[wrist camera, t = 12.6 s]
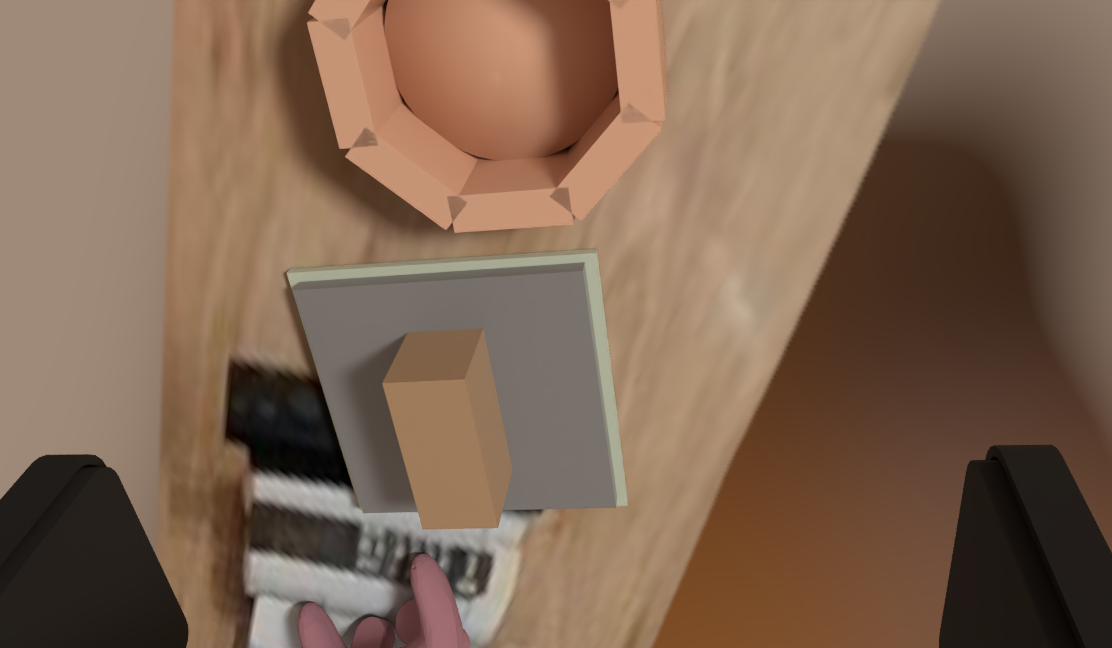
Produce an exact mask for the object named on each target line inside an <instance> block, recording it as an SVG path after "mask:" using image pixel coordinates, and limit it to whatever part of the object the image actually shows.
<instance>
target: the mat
mask: <svg viewBox="0 0 1112 648" xmlns="http://www.w3.org/2000/svg"><path fill="white" fill-rule="evenodd" d="M581 262H585V268H586V276H587V283H588V290H589V297H590V304H591V312H592V319H593V326H594V333H595V340H596V348H597V355H598V362H599V369H600V376H601V384H602V391H603V398H604V405H605V412H606V420H607V427H608V434H609V441H610V449H611V456H612V463H613V470H614V477H615V485H616V492H617V503H616V506H627V503H628V498H627V490H626V482H625V474H624V466H623V458H622V450H621V441H620V433H619V425H618V417H617V409H616V401H615V393H614V385H613V377H612V369H611V360H610V352H609V344H608V336H607V328H606V320H605V312H604V304H603V296H602V287H601V279H600V271H599V263H598V255H597V249H587V250H571V251H556V252H541V253H525V254H510V255H495V256H480V257H464V258H449V259H434V260H418V261H403V262H388V263H373V264H357V265H342V266H327V267H312V268H296V269H289V271H288V272H287V276H288V279H289V283H290V286H291V289H292V292H293V290H294V288H295V287H296V286H297V284H298V283H299V282H305V281H320V280H334V279H349V278H363V277H378V276H392V275H407V274H421V273H436V272H450V271H465V270H479V269H494V268H508V267H523V266H537V265H552V264H566V263H581ZM293 296H294V293H293ZM294 299H295V296H294ZM295 302H296V299H295ZM296 305H297V302H296ZM297 308H298V305H297ZM298 312H299V308H298ZM299 315H300V312H299ZM300 318H301V315H300ZM301 321H302V318H301ZM302 325H303V328H304V331H305V334H306V330H305V327H304V324H303V321H302ZM306 337H307V334H306ZM307 341H308V344H309V347H310V350H311V354H312V357H313V360H314V363H315V366H316V370H317V373H318V376H319V379H320V383H321V386H322V389H323V392H324V395H325V399H326V402H327V405H328V408H329V412H330V415H331V418H332V421H333V424H334V428H335V431H336V434H337V437H338V440H339V444H340V447H341V450H342V453H343V457H344V460H345V463H346V466H347V469H348V473H349V476H350V479H351V482H352V486H353V489H354V492H355V495H356V498H357V502H358V505H359V508H360V510H362V507H361V504H360V501H359V498H358V495H357V491H356V488H355V485H354V482H353V479H352V476H351V472H350V469H349V466H348V463H347V460H346V457H345V454H344V450H343V447H342V444H341V441H340V438H339V435H338V431H337V428H336V425H335V422H334V419H333V416H332V413H331V409H330V406H329V403H328V400H327V397H326V394H325V390H324V387H323V384H322V381H321V378H320V375H319V372H318V368H317V365H316V362H315V359H314V356H313V353H312V349H311V346H310V343H309V340H308V337H307Z"/></svg>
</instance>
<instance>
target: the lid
mask: <svg viewBox="0 0 1112 648" xmlns="http://www.w3.org/2000/svg"><path fill="white" fill-rule="evenodd" d="M293 293H294V296H295V299H296V302H297V305H298V308H299V312H300V315H301V318H302V321H303V324H304V327H305V330H306V334H307V337H308V340H309V343H310V346H311V349H312V353H313V356H314V359H315V362H316V365H317V368H318V372H319V375H320V378H321V381H322V384H323V387H324V390H325V394H326V397H327V400H328V403H329V406H330V409H331V413H332V416H333V419H334V422H335V425H336V428H337V431H338V435H339V438H340V441H341V444H342V447H343V450H344V454H345V457H346V460H347V463H348V466H349V469H350V472H351V476H352V479H353V482H354V485H355V488H356V491H357V495H358V498H359V501H360V504H361V507H362V510H363V513H388V512H418V513H419V517H420V521H421V524H422V528H423V529H465V528H498V526H499V522H500V518H501V514H502V510H525V509H571V508H616V503H617V492H616V485H615V477H614V470H613V463H612V456H611V449H610V441H609V434H608V427H607V420H606V412H605V405H604V398H603V391H602V384H601V376H600V369H599V362H598V355H597V348H596V340H595V333H594V326H593V319H592V312H591V304H590V297H589V290H588V283H587V276H586V268H585V262H581V263H566V264H552V265H537V266H523V267H508V268H494V269H479V270H465V271H450V272H436V273H421V274H407V275H392V276H378V277H363V278H349V279H334V280H320V281H305V282H299V283H298V284H297V286H296V287H295V288H294V290H293Z"/></svg>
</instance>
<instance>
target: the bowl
mask: <svg viewBox="0 0 1112 648" xmlns="http://www.w3.org/2000/svg"><path fill="white" fill-rule="evenodd" d="M385 2H386V0H315V2H314V3H313V5H312V7H311V8H310V10H309V12H308V13H309V14H310V15H312V16H313V17H314V18H313V19H311V20H310V21H308V22H307V25H308V29H309V33H310V37H311V41H312V45H313V48H314V52H315V56H316V60H317V64H318V68H319V72H320V75H321V79H322V83H323V87H324V91H325V95H326V99H327V102H328V106H329V110H330V114H331V118H332V122H333V126H334V129H335V133H336V137H337V141H338V145H339V149H345V148H351V149H350V150H349V152H348V153H347V155H346V156H345V157H346V158H347V159H349V160H350V161H351V162H353V163H354V164H356V165H357V166H358V167H360V168H361V169H362V170H364V171H365V172H367V173H368V174H369V175H371V176H372V177H373V178H375V179H376V180H378V181H379V182H380V183H382V184H383V185H384V186H386V187H387V188H389V189H390V190H391V191H393V192H394V193H395V194H397V195H398V196H400V197H401V198H402V199H404V200H405V201H406V202H408V203H409V204H411V205H412V206H413V207H415V208H416V209H417V210H419V211H420V212H422V213H423V214H424V215H426V216H427V217H428V218H430V219H431V220H433V221H434V222H435V223H437V224H438V225H439V226H441V227H442V228H444V229H445V230H447V228H448V227H449V226H450V225H451V223H452V222H453V227H454V232H455V233H460V232H474V231H488V230H502V229H517V228H531V227H545V226H559V225H573V223H574V220H575V216H576V217H577V218H578V219H580V220H582V219H583V218H584V217H585V216H586V215H587V214H588V212H589V211H590V210H591V209H592V208H593V207H594V206H595V204H596V203H597V202H598V201H599V200H600V199H601V198H602V197H603V195H604V194H605V193H606V192H607V191H608V190H609V189H610V188H611V186H612V185H613V184H614V183H615V182H616V181H617V180H618V178H619V177H620V176H621V175H622V174H623V173H624V172H625V171H626V169H627V168H628V167H629V166H630V165H631V164H632V163H633V161H634V160H635V159H636V158H637V157H638V156H639V155H640V154H641V152H642V151H643V150H644V149H645V148H646V147H647V146H648V145H649V143H650V142H651V141H652V140H653V139H654V138H655V137H656V135H657V134H658V133H659V132H660V131H661V130H662V123H663V120H665V115H666V102H667V89H668V83H667V70H666V57H665V43H664V30H663V16H662V3H661V0H388V3H387V8H386V14H385V10H384V6H383V5H384V3H385ZM617 88H619V90H618V91H617V92H616V90H617ZM404 100H405V101H404ZM573 143H574V144H573ZM572 144H573V145H572ZM570 145H572V146H571V148H570V149H569V150H563V149H565V148H567V147H568V146H570Z"/></svg>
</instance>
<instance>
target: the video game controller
mask: <svg viewBox="0 0 1112 648" xmlns="http://www.w3.org/2000/svg"><path fill="white" fill-rule="evenodd" d="M410 576H411V586H412V590H413V593H414V597H415V599H411V600H409V601H407V602H406V603H405V604H404V605H403V606H402V607H401V608H400V610H399V612H398V614H397V618H396V631H397V634H398V636H399V638H400V639H401V640H402V641H403V642H404V643H405V644H406V645H405V646H403V647H401V648H470V641H469V637H468V635H467V633H466V632H465V630H464V629H463V628H462V623H461V619H460V616H459V612H458V608H457V605H456V601H455V598H454V595H453V592H452V590H451V587H450V584H449V582H448V579H447V577H446V575H445V574H444V572H443V570H442V569H441V567H440V566H439V564H438V563H437V562H436V561H435V560H434V559H433V558H432V557H431V556H430V555H429V554H426V553H423V554H419V555H417V556H416V557H414V559H413V561H412V564H411V571H410ZM297 630H298V635H299V639H300V642H301V645H302V648H347V647H346V645H345V644H344V642H343V641H342V639H341V637H340V635H339V633H338V631H337V629H336V627H335V625H334V623H333V622H332V620H331V619H330V617H329V616H328V615H327V613H326V612H325V611H324V610H323V609H322V608H321V607H320V606H319V605H318V604H316V603H314V602H312V603H307V604H305V605H304V606H303V607H302V608H301V610H300V613H299V615H298V628H297ZM394 640H395V633H394V628H393V626H392V624H391V623H390V622H389V621H387V620H384V619H381V618H377V617H368V618H366V619H364V620H363V621H362V622H361V623H360V624H359V626H358V627H357V630H356V632H355V635H354V639H353V642H352V645H351V647H350V648H393V645H394Z"/></svg>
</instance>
